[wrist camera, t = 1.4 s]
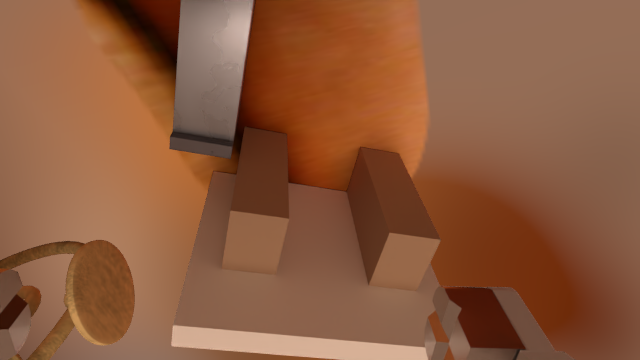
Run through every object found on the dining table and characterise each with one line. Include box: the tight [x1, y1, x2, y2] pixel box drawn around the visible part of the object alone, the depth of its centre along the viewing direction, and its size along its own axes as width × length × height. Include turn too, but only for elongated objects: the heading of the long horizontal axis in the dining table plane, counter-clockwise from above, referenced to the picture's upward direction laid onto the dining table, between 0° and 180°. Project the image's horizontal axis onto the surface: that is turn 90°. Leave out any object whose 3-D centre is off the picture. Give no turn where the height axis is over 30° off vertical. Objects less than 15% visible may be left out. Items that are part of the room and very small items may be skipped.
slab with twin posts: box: [171, 127, 441, 360], centre depth 27 cm, size 6×15×14 cm, turn 77°
